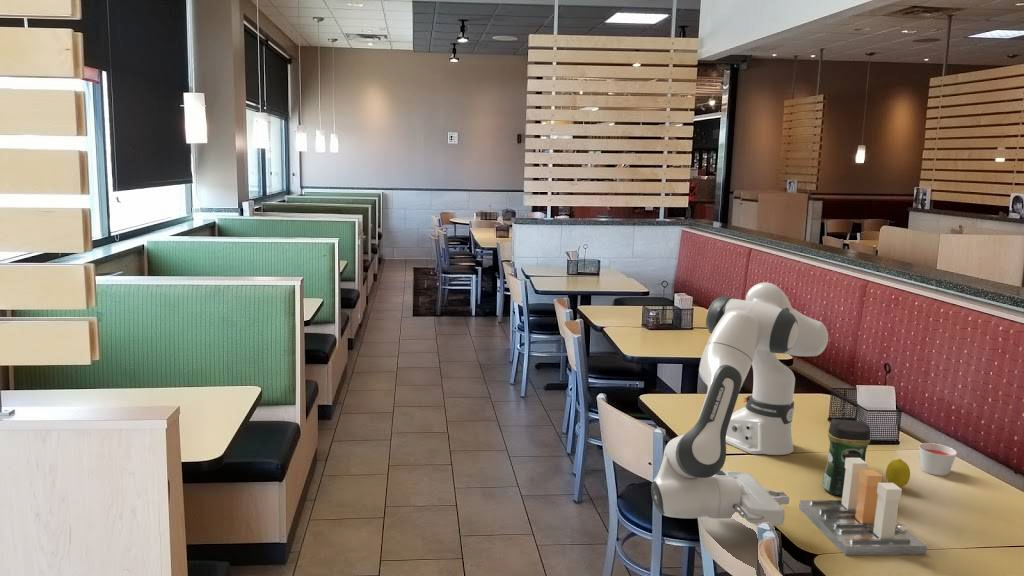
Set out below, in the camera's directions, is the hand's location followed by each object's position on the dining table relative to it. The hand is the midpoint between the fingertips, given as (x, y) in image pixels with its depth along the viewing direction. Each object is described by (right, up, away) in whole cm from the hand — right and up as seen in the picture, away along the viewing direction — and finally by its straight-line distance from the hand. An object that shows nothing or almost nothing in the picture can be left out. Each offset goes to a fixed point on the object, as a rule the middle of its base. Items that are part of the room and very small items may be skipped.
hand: (786, 497), depth 175 cm
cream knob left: (+19, -5, +10) cm, 22 cm away
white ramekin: (+54, -4, +40) cm, 67 cm away
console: (+18, -8, +3) cm, 20 cm away
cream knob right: (+20, -7, -4) cm, 21 cm away
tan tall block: (+19, -6, +3) cm, 20 cm away
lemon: (+37, -5, +27) cm, 47 cm away
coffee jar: (+22, -5, +24) cm, 33 cm away
